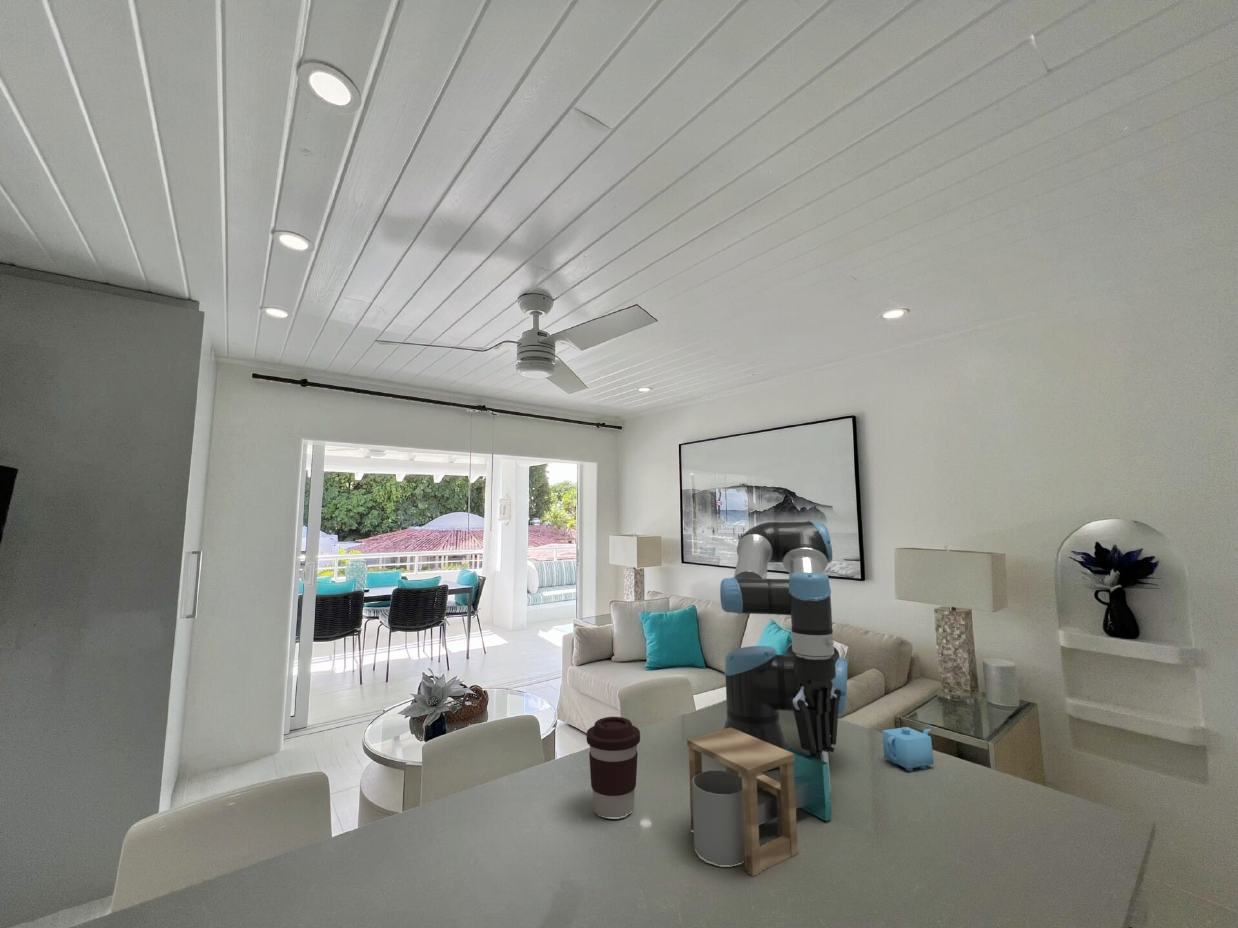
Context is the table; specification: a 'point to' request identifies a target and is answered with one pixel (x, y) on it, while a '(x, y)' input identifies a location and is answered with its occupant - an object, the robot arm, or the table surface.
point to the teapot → (908, 747)
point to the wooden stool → (753, 789)
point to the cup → (718, 817)
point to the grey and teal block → (802, 789)
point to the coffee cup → (613, 765)
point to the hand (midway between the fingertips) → (821, 788)
